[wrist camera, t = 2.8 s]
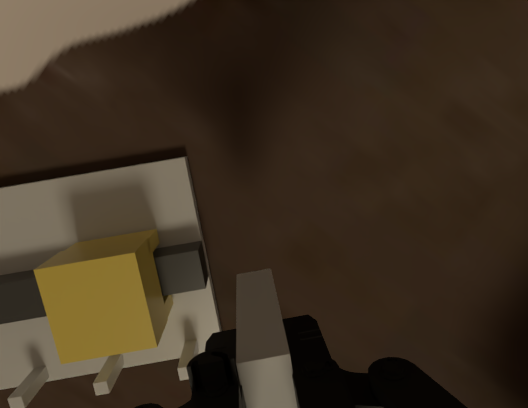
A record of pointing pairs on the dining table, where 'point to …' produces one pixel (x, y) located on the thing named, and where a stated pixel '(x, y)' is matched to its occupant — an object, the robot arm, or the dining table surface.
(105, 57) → the dining table surface
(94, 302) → the yellow sliding cube
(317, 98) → the dining table surface
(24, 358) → the white pegged slab
